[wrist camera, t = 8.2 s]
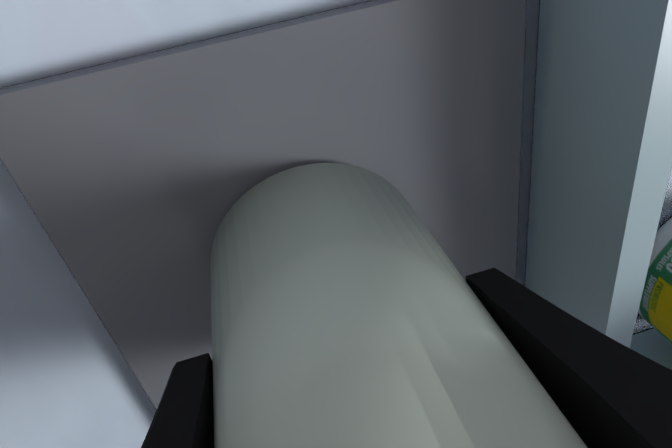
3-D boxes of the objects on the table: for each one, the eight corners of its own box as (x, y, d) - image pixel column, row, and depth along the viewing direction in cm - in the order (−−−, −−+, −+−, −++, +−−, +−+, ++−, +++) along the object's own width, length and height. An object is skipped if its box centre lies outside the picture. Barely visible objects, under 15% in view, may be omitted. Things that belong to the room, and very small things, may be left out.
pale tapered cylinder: (423, 306, 14) (683, 758, 6) (243, 359, 13) (295, 919, 6) (409, 137, 11) (853, 600, 3) (178, 196, 10) (117, 889, 3)
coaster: (504, 329, 16) (513, 342, 16) (180, 430, 15) (179, 447, 15) (511, -33, 10) (527, -31, 10) (-22, 93, 9) (-35, 103, 9)
